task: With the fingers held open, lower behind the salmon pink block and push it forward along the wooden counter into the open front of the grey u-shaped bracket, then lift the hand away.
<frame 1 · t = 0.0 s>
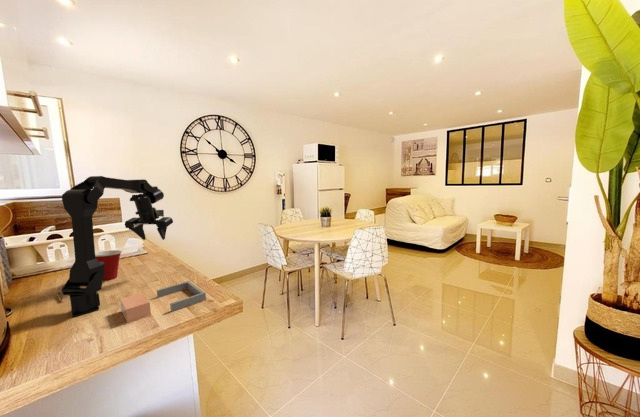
hand: (154, 239, 117), 15 cm above the kitchen counter, tool pointing down, fingers open, 9 cm apart
salmon pink block: (136, 313, 82), on the kitchen counter
shard: (73, 296, 97), on the kitchen counter
plastic cup: (109, 278, 112), on the kitchen counter
grey u-shaped bracket: (181, 298, 92), on the kitchen counter
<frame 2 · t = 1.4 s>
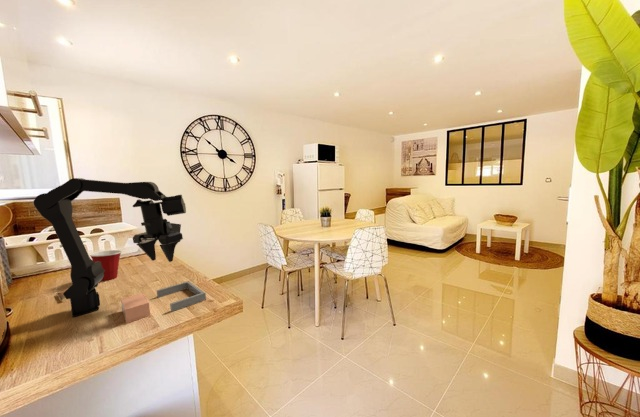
hand: (162, 260, 91), 14 cm above the kitchen counter, tool pointing down, fingers open, 9 cm apart
nothing on the kitchen counter moved.
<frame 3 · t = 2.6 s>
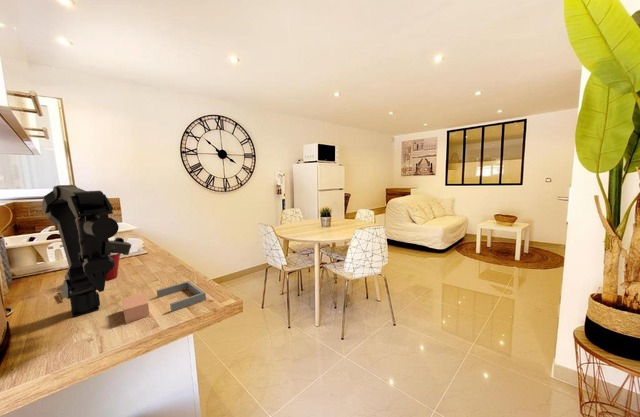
hand: (99, 286, 75), 11 cm above the kitchen counter, tool pointing down, fingers open, 9 cm apart
nothing on the kitchen counter moved.
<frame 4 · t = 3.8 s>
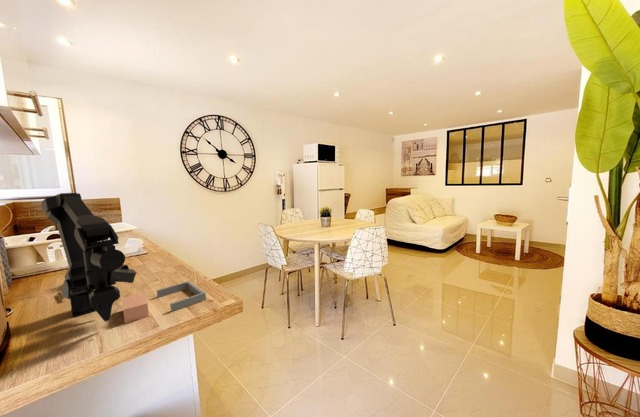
hand: (104, 315, 76), 3 cm above the kitchen counter, tool pointing down, fingers open, 9 cm apart
nothing on the kitchen counter moved.
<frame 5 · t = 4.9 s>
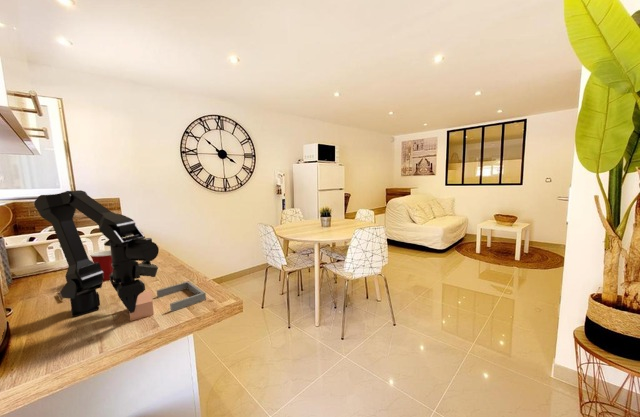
hand: (129, 307, 80), 3 cm above the kitchen counter, tool pointing down, fingers open, 9 cm apart
salmon pink block: (142, 311, 83), on the kitchen counter, touching gripper
everything else where it was.
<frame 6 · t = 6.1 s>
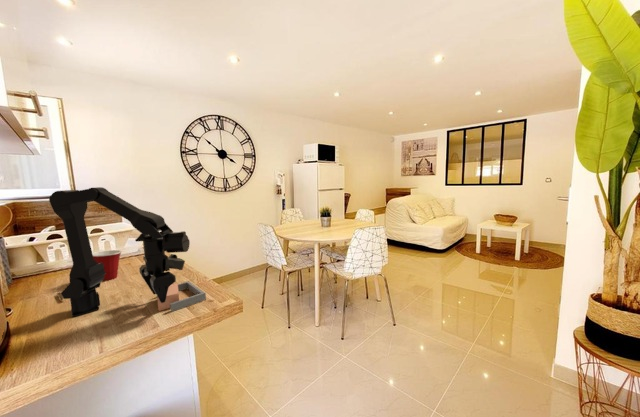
hand: (159, 298, 86), 3 cm above the kitchen counter, tool pointing down, fingers open, 9 cm apart
salmon pink block: (169, 302, 89), on the kitchen counter, touching gripper
everything else where it was.
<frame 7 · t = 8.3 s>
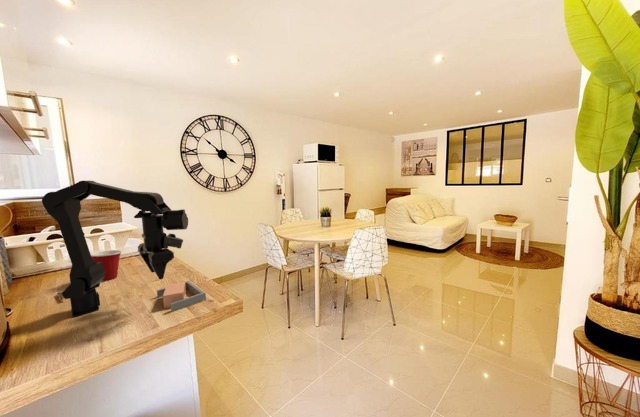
hand: (157, 275, 87), 10 cm above the kitchen counter, tool pointing down, fingers open, 9 cm apart
salmon pink block: (175, 300, 91), on the kitchen counter
everything else where it was.
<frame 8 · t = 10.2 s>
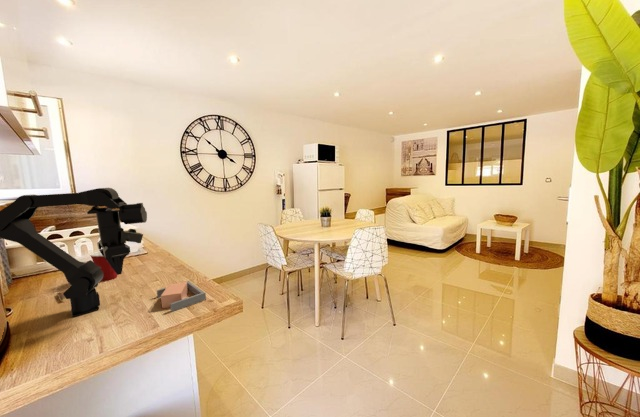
hand: (116, 271, 86), 12 cm above the kitchen counter, tool pointing down, fingers open, 9 cm apart
nothing on the kitchen counter moved.
at the end: salmon pink block 2.1 cm from the target spot, on the kitchen counter; salmon pink block tilted 0°; the gripper is holding nothing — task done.
